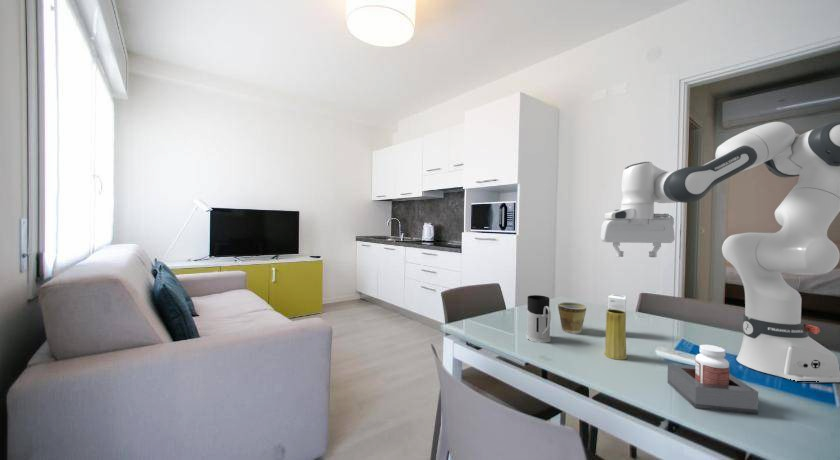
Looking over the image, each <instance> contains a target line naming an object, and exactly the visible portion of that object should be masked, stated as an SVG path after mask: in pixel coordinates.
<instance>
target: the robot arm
mask: <svg viewBox="0 0 840 460" xmlns="http://www.w3.org/2000/svg"><path fill="white" fill-rule="evenodd" d="M714 153H715V156H714V157H715V159H712V160H711V161H709V162H706V163H704V164H703V165H700V166H699V165H697V166H686V167H683V168H680V169H676V170H673V171H668V170H665V169H661V168H660V167H658V166H656V165H655V164H653V163H652V161H643V162H638V163H637V162H636V163H633V164H630V165H628V166H626V167H624V169H623V171H622V176H621V184H620V185H621V186H620V192H621V195H622V196H621V197H622V199H621V202H620V208H619V209H615V210H611V211H608V212H605V213H604V216H603V217H604V221H603V222H602V224H601V230H600V240H601V241H602V243H612V247H613V248H614V250H615V251H616V252H615V253H616V255H615V256H616V257H618V258H619V257H621V258H622V257H624V253H625V252H624V251H623V250H620V248H619V247H620V245H621V243H626V244H627V243H628V244H629V243H632V244H635V243H636V244H637V243H638V244H643V243H644V244H652V246H653V248H652V250H650V251H648V257H649V258H657V256H658V255H657V252H658V251H659V250H660V248H661V247H662V244H672V243H673V242H674V241H675V240H676V239H675V229H674V226H675V225H674V224H675V218H674V217H673V215H670V214H669V213H654V212H655V203H658V204H675V203H684V204H685V203H687V204H688V203H690V204H691V203H695V202H698V201H700V200H702V199H703V198H704V197H705V196H706V195H707V194H708V193H709V192H710V191H711V190H712V189H713V188H714V187H715V186H717V185H718V184H719V183H721V182H723V181H726V180H728V179H729V178H730V177H733V176H734V175H737V174H738V173H741V172H745V171H747V170H750V169H752V168H755V167H757V166H759V165H762V164H764V165H765V167H766V169H767V170H768V172H771V174H772V175H775V176H777V177H779V178H784V179H785V178H787V179H788V178H795V177H798V181H797V183H796V184H795V185H794V186H793V188H792V189H791V190H790V191H789V192H788V194H787V195H786V197H784V199H783V200H782V201H781V203H780V204H779V205H778V207H776V209H775V211H774V218H775V221H776V222H777V224H779V225H780V227H781V228H780V229H779V230H778V231H776V232H752V231H751V232H750V231H749V232H743V233H736V234H731V235H730V236H728V237H726V239H725V240H724V241H723V243H722V246H721V253H722V256H723V258H724V259H725V260H726V261H727V262H728V263H730V265H731V266H732V267H734V269H735V270H736V272H737V274H738V275H739V277H740V280H741V282H742V285H743V290H744V304H745V305H744V306H745V307H744V312H745V313H744V314H742V333H743V337H742V341H741V345H740V350H739V353H738V355H737V356H736V359H735V360H736V361H737V362H738V363H739V364H740V365H743V366H744V367H747V368H749V369H752V370H755V371H758V372H761V373H763V374H764V373H766V374H768V375H773V376H776V377H780V378H785V379H787V380H790V379H791V380H790V381H793V380H795V381H794V382H797V381H816V382H815V383H840V364H839V361H838V358H837V356H836V354H834V352H833V351H831V350H829V349H828V348H826V346H823V345H822V344H821V343H819V342H817V341H816V340H814V339H813V338H812V337H810V335H809V333H812V334H814V335H818V334H819V333H820V332H821V330H820V328H819V327H818V326H816V325H812V324H805V323H803V322H802V296H801V294H800V292H798V291H797V289H795V288H793V287H792V286H790V284H788V283H787V282H786V281H785V279H784V277H783V276H782V273H783V274H784V273H785V274H791V275H796V276H797V275H798V276H799V275H800V276H801V275H803V276H805V275H807V276H808V275H824V274H828V273H830V272H831V271H832V270H834V269H835V268H836V266H837V265H838V263H839V262H840V250H839V248H838V246H837V245H836V243H834V242H833V240H831V239H830V238H829V237H828V231H829V227H830V226H831V225H832V223H833V221H834V220H835V218H836V217H837V216H838V215H839V213H840V120H839V121H837V120H836V121H832V122H828V123H823V124H821V125H819V126H816V127H815V128H813V129H811V130H809V131H808V130H807V131H805V132H804V133H802V134H799V133H796V131H795V130H794V128H793V127H792V126H791V125H789V123H785V122H783V121H772V122H766V123H764V124H761V125H758V126H755V127H752V128H749V129H747V130H745V131H742V132H740V133H738V134H736V135H734V136H731V137H730V138H729V139H727V140H725V141H724V142H723V143H721V144H719V145H718V146H717V148H716V150H715V152H714ZM808 332H809V333H808ZM817 381H819V382H817Z"/></svg>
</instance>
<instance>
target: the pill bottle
mask: <svg viewBox="0 0 840 460" xmlns="http://www.w3.org/2000/svg"><path fill="white" fill-rule="evenodd" d="M698 349H699V353H697V354H696V355H695V359H694V360H695V364H694V366H695V379H696V380H697V381H698V382H699V383H704V384H716V385H728V386H729V374H730V362H729V361H728V359H726V358H725V357H726V349H725V348H723V347H720V346H716V345H712V344H700V345H699V348H698Z"/></svg>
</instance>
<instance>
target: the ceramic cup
mask: <svg viewBox="0 0 840 460" xmlns="http://www.w3.org/2000/svg"><path fill="white" fill-rule="evenodd" d="M557 308H558V314H559V320H560V325H561V330H563V332H565V333H568V334H573V335H574V334H575V335H576V334H577V335H578V334H580V333H581V332H582V330H583V327H584V322H585V317H586V313H587V306H586V305H585V304H582V303H579V302H578V303H577V302H568V301H567V302H565V301H564V302H559V303H557Z"/></svg>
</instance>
